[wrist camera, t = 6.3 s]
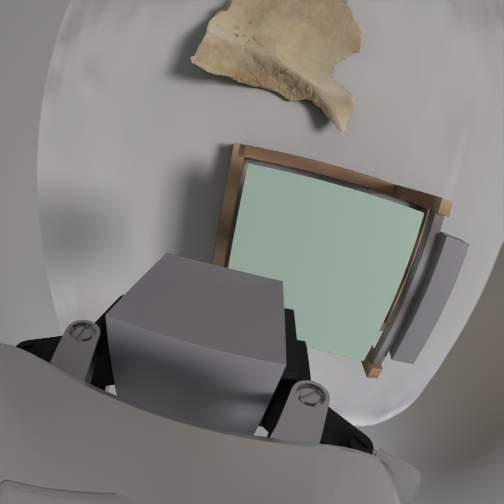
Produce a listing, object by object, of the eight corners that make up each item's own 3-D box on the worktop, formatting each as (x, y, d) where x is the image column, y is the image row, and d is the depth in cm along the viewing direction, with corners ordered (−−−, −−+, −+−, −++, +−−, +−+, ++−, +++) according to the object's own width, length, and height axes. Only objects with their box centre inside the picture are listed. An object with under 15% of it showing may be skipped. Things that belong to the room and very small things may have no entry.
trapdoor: (252, 163, 21) (247, 163, 20) (464, 228, 18) (472, 232, 16) (223, 313, 26) (217, 321, 24) (405, 361, 22) (408, 371, 21)
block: (167, 252, 11) (105, 314, 7) (282, 281, 11) (286, 364, 7) (160, 341, 13) (121, 413, 8) (255, 366, 13) (246, 449, 8)
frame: (236, 144, 27) (214, 134, 16) (430, 198, 27) (488, 220, 16) (210, 290, 33) (185, 347, 22) (385, 323, 32) (415, 378, 22)
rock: (383, 31, 21) (397, 19, 17) (337, 131, 27) (349, 130, 23) (247, -24, 19) (244, -42, 15) (191, 72, 25) (179, 62, 21)
